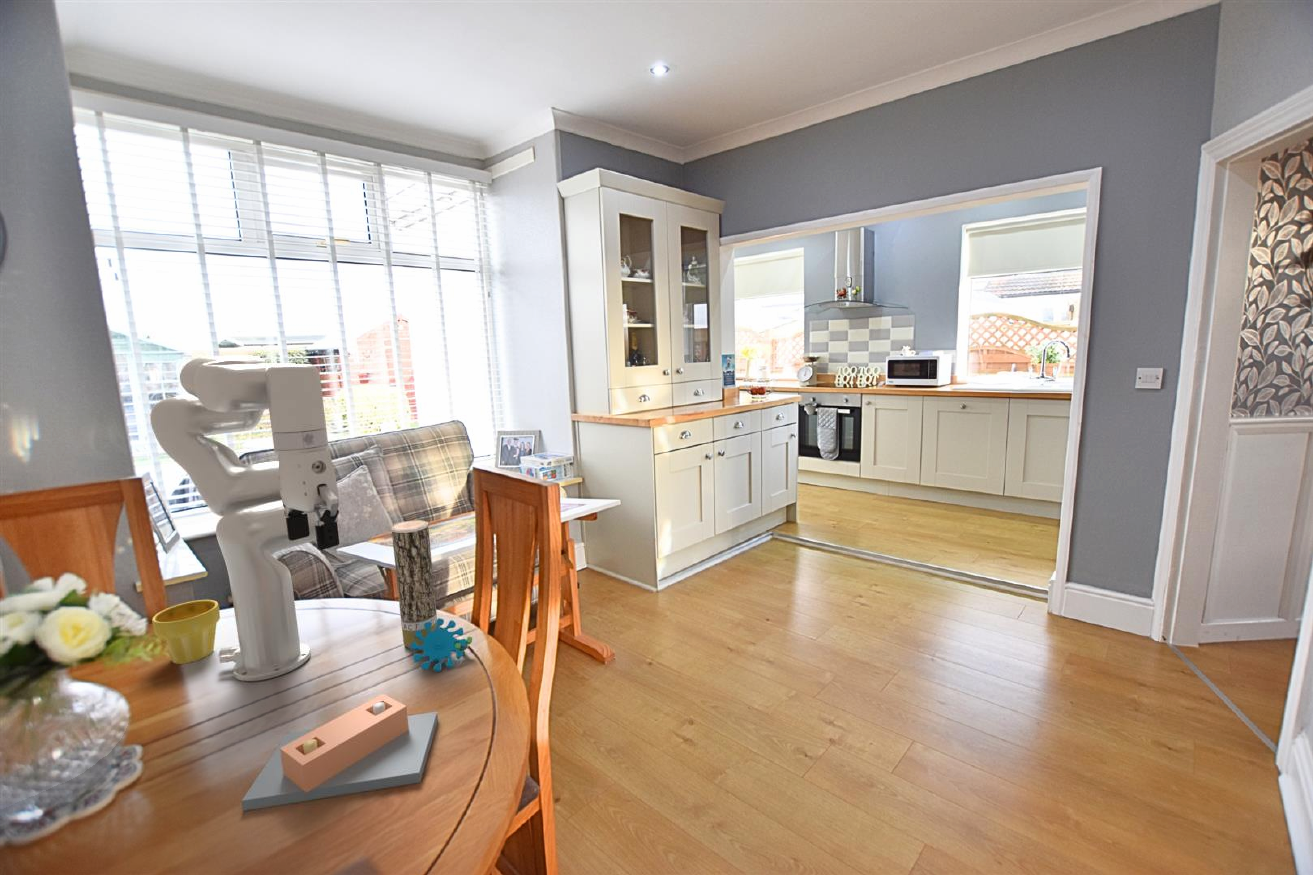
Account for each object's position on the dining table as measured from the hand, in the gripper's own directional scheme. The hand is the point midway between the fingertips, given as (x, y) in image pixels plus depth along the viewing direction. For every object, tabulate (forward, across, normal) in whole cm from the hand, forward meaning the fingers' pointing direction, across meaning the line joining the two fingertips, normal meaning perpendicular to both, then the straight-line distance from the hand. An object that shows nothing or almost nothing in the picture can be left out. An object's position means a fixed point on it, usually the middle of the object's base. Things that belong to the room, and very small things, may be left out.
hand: (313, 542), depth 96 cm
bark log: (+28, +5, -20) cm, 35 cm away
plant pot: (+28, +41, +7) cm, 50 cm away
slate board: (+28, -18, +7) cm, 34 cm away
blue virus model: (+29, -6, -18) cm, 34 cm away
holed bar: (+27, -18, +7) cm, 33 cm away
